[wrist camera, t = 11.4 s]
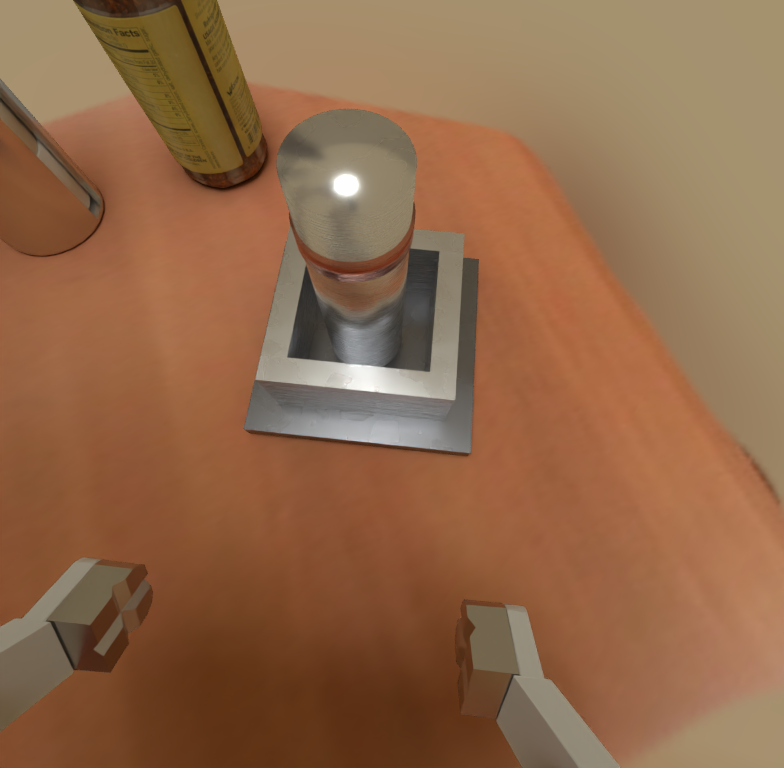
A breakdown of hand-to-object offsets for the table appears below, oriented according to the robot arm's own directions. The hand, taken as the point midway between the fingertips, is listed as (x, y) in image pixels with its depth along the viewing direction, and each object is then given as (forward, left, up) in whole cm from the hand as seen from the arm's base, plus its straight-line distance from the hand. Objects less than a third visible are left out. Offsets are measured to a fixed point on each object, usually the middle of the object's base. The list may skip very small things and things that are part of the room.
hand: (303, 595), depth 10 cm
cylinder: (0, +12, -9) cm, 15 cm away
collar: (0, +12, -10) cm, 16 cm away
